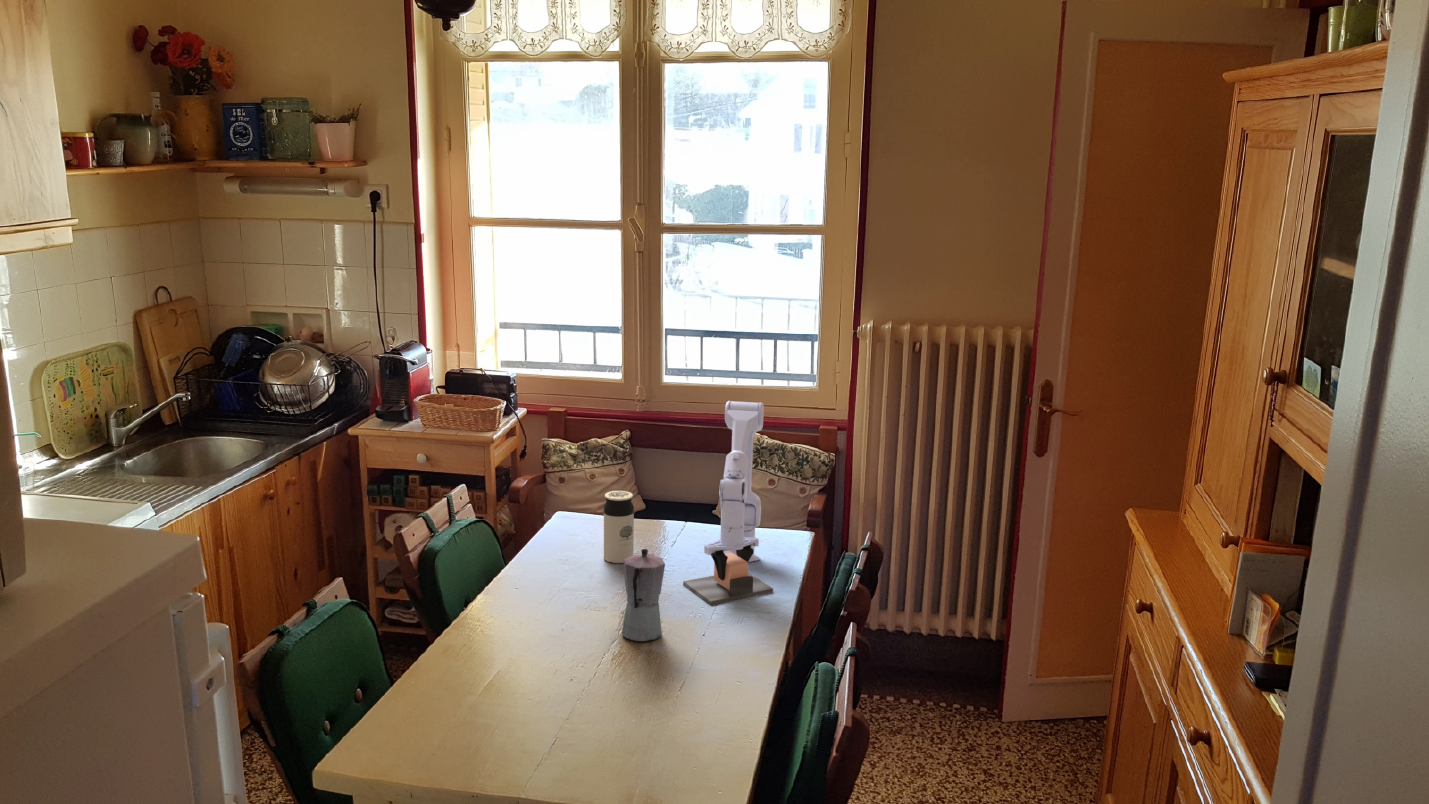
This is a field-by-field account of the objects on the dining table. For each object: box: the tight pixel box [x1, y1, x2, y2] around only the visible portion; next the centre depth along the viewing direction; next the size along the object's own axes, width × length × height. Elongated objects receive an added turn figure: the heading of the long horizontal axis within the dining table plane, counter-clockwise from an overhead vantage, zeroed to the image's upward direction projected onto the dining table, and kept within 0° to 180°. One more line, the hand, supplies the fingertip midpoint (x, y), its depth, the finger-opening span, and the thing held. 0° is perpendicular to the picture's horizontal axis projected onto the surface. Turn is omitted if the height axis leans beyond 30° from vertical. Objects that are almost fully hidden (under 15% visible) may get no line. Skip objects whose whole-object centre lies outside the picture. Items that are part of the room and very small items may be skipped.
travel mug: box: [603, 490, 635, 564], centre depth 279 cm, size 8×8×18 cm
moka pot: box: [621, 548, 666, 642], centre depth 233 cm, size 10×15×20 cm, turn 174°
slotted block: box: [713, 552, 749, 590], centre depth 261 cm, size 8×5×6 cm, turn 30°
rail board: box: [682, 572, 774, 606], centre depth 262 cm, size 14×18×5 cm
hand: (730, 576), depth 261 cm, fingers closed on slotted block, 5 cm apart
